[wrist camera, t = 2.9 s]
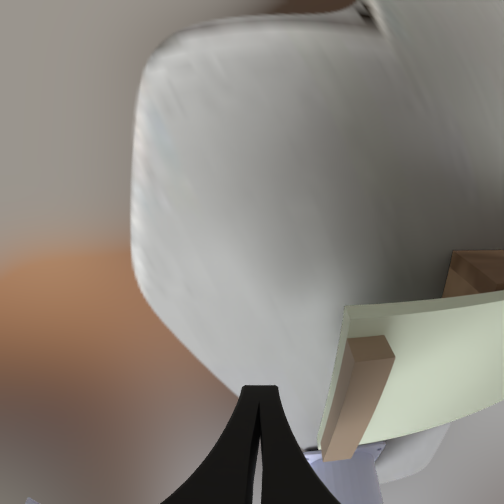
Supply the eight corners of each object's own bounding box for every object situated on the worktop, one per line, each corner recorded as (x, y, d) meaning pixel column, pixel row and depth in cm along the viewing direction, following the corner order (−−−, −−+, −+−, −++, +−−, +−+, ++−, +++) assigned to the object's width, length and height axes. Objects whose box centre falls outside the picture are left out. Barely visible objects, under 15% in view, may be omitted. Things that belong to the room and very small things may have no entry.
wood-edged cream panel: (514, 385, 11) (525, 402, 10) (316, 438, 12) (320, 468, 10) (562, 279, 8) (581, 293, 7) (344, 305, 9) (360, 342, 7)
